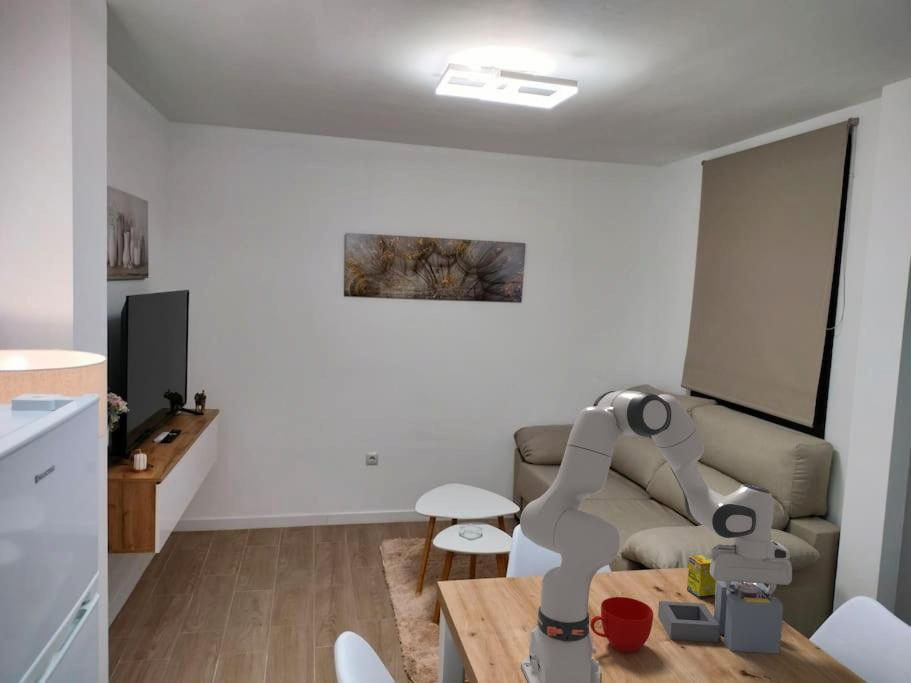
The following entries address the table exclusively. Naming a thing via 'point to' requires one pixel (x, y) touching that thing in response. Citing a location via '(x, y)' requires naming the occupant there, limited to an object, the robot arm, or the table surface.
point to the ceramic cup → (624, 623)
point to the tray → (688, 621)
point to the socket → (748, 620)
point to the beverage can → (746, 590)
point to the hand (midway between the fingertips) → (748, 597)
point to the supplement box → (700, 577)
